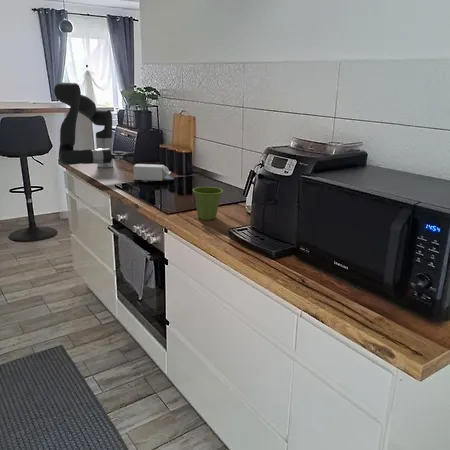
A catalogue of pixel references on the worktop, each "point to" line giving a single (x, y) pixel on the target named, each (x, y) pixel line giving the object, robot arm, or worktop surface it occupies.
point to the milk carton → (150, 172)
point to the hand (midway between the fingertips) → (134, 154)
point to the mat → (162, 180)
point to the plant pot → (207, 201)
